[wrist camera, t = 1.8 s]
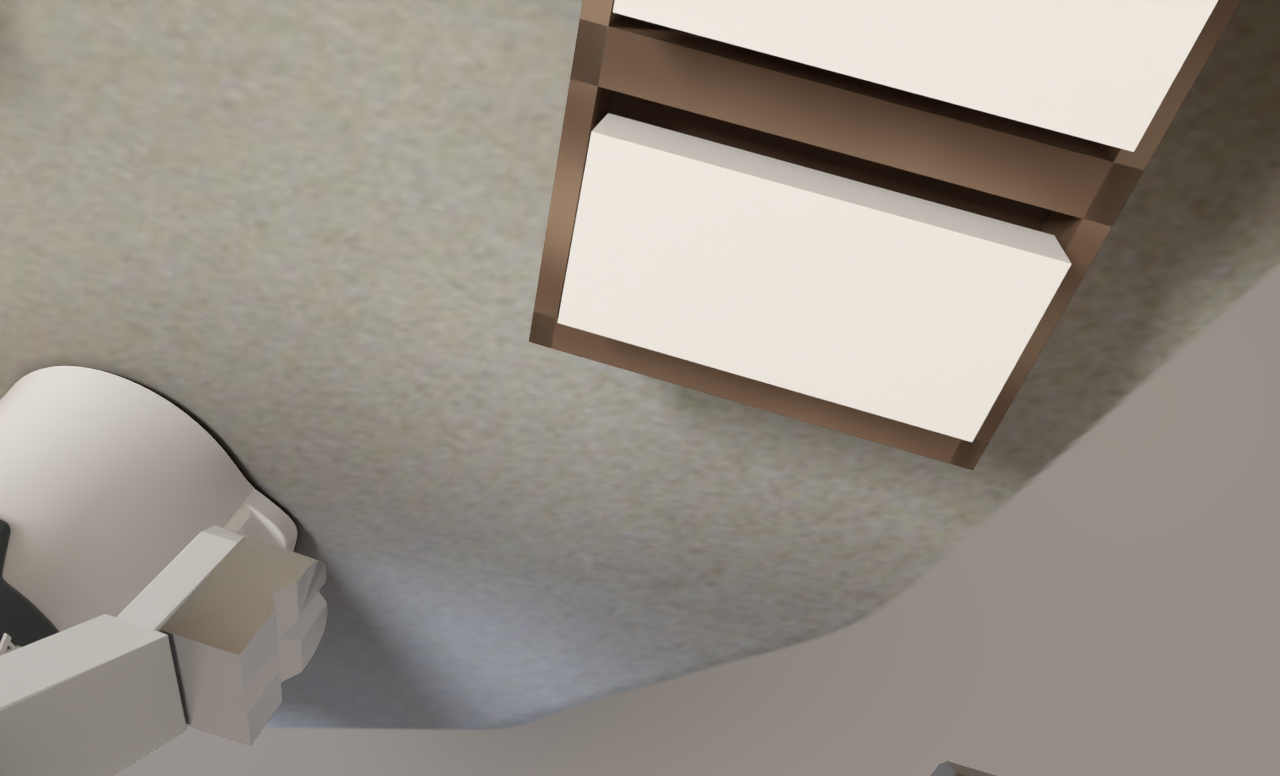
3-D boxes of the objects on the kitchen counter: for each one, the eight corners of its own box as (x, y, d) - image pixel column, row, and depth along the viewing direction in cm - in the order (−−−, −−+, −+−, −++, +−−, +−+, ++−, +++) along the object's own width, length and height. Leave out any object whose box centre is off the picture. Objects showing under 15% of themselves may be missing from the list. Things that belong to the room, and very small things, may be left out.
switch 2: (963, 406, 26) (972, 442, 25) (574, 294, 27) (557, 323, 25) (1054, 235, 23) (1071, 264, 21) (608, 113, 24) (591, 131, 22)
